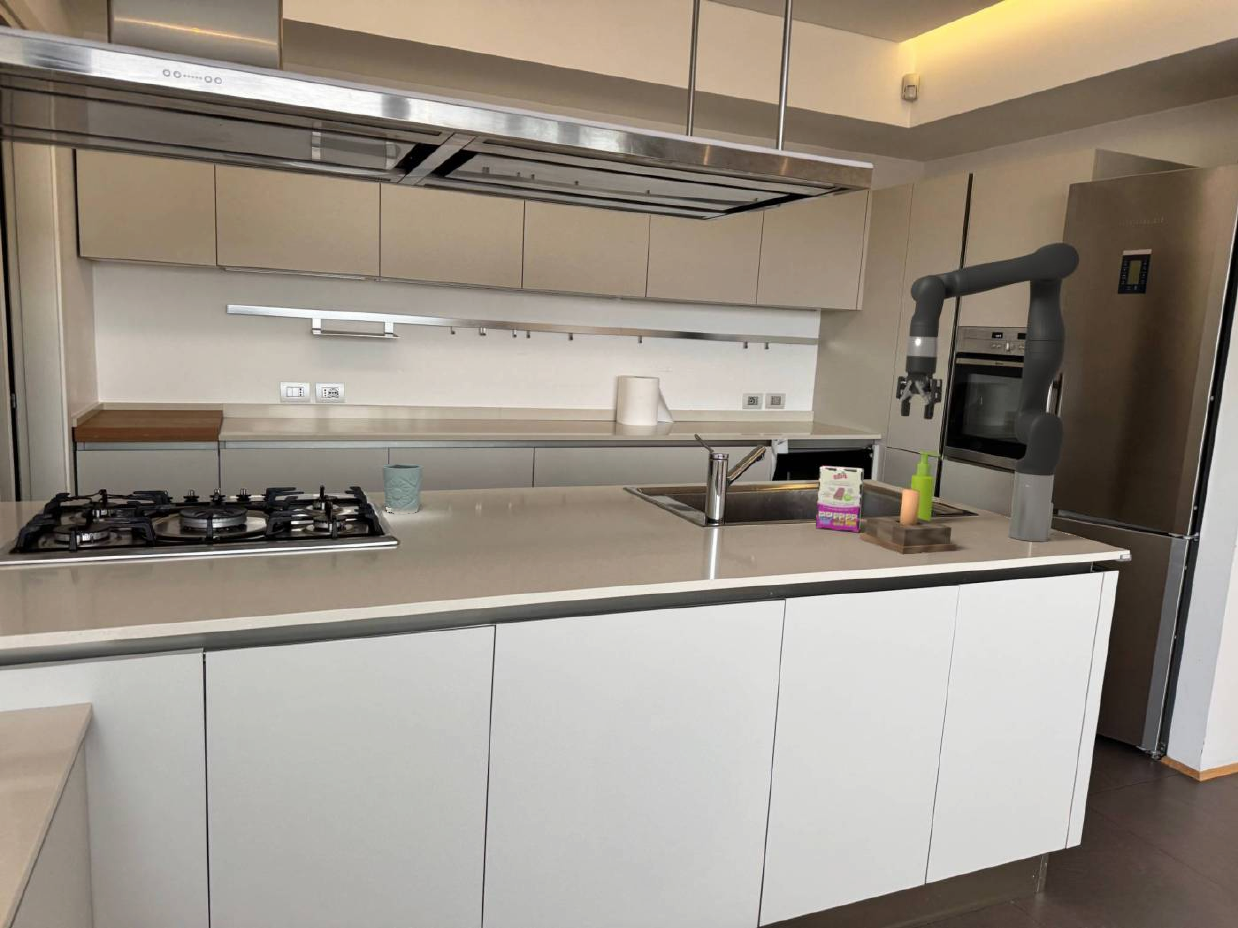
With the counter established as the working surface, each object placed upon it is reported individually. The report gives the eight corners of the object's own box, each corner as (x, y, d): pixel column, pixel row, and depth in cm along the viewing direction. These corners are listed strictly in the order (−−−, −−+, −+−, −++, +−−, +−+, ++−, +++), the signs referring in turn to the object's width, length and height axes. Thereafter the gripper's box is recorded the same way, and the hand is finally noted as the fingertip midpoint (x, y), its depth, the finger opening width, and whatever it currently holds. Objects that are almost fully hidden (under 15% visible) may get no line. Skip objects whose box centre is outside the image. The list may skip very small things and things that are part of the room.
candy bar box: (860, 529, 233) (865, 468, 231) (858, 533, 228) (863, 470, 226) (816, 525, 237) (821, 464, 234) (814, 528, 232) (819, 466, 230)
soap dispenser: (935, 526, 242) (942, 453, 239) (909, 524, 243) (915, 452, 240) (932, 522, 247) (938, 451, 245) (906, 520, 249) (912, 449, 246)
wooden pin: (907, 536, 220) (912, 488, 218) (919, 539, 216) (923, 491, 214) (895, 537, 218) (899, 489, 216) (906, 540, 214) (910, 492, 213)
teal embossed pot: (393, 516, 224) (394, 469, 222) (375, 509, 231) (375, 464, 230) (429, 512, 231) (429, 467, 229) (409, 505, 238) (410, 461, 237)
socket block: (909, 535, 228) (911, 514, 227) (955, 550, 213) (957, 528, 212) (859, 538, 221) (861, 517, 221) (902, 553, 207) (904, 531, 206)
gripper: (953, 356, 222) (947, 420, 224) (914, 354, 235) (908, 415, 237) (930, 355, 219) (924, 420, 221) (891, 353, 232) (886, 415, 234)
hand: (916, 417), depth 229 cm, fingers open, 8 cm apart
